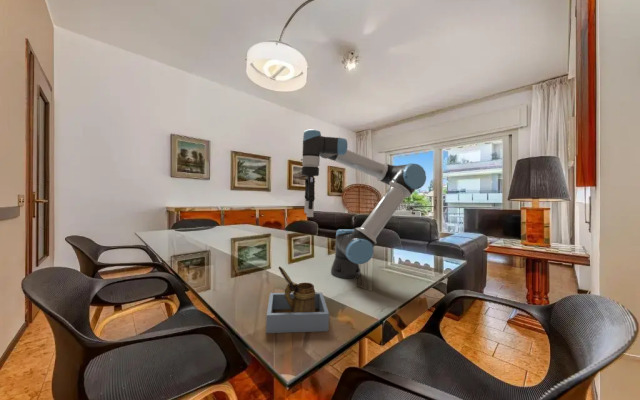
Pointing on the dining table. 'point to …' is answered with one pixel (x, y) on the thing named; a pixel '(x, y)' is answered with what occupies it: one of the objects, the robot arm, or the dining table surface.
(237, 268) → the dining table surface
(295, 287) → the wooden mug
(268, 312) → the box
